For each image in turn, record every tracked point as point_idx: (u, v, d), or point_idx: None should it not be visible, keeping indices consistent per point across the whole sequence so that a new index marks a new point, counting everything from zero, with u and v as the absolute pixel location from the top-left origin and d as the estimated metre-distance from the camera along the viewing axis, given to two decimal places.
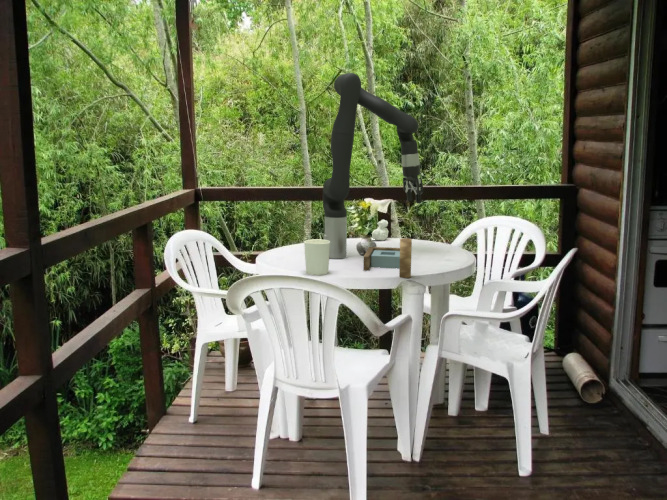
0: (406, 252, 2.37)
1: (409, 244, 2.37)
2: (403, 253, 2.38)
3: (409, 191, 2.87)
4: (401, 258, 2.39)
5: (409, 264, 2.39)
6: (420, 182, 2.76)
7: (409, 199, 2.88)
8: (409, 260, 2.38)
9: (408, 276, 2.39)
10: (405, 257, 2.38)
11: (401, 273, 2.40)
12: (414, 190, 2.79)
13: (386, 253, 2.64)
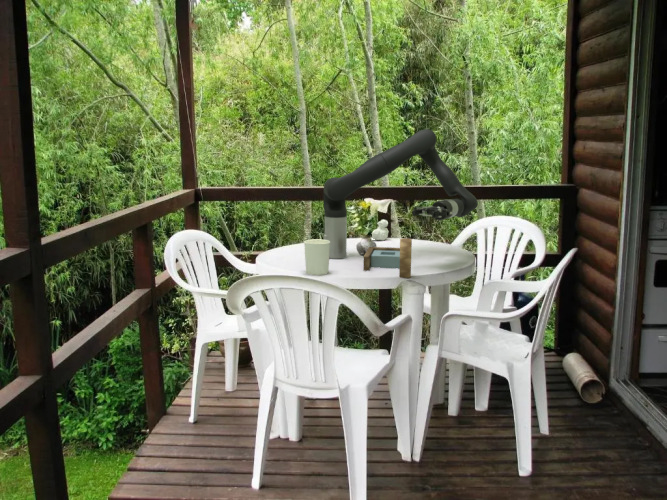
0: (406, 252, 2.37)
1: (409, 244, 2.37)
2: (403, 253, 2.38)
3: (419, 212, 2.51)
4: (401, 258, 2.39)
5: (409, 264, 2.39)
6: (451, 213, 2.48)
7: (415, 211, 2.49)
8: (409, 260, 2.38)
9: (408, 276, 2.39)
10: (404, 257, 2.38)
11: (401, 273, 2.40)
12: (438, 210, 2.47)
13: (386, 253, 2.64)
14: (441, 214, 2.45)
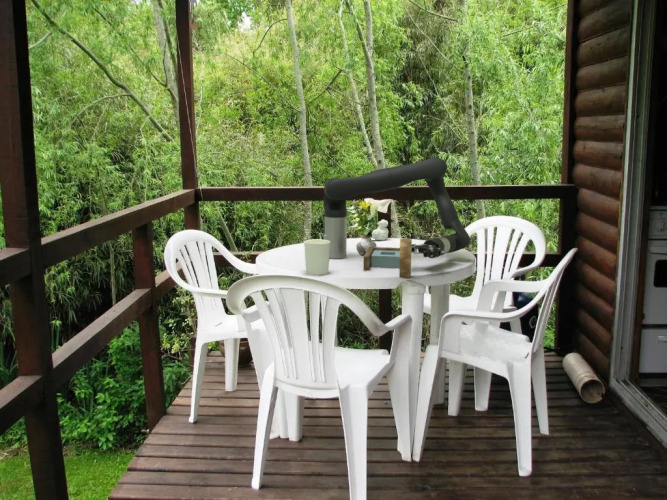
0: (406, 252, 2.37)
1: (409, 244, 2.37)
2: (403, 253, 2.38)
3: (411, 250, 2.50)
4: (401, 258, 2.39)
5: (409, 264, 2.39)
6: (442, 252, 2.47)
7: None
8: (409, 260, 2.38)
9: (408, 276, 2.39)
10: (404, 257, 2.38)
11: (401, 273, 2.40)
12: (430, 249, 2.46)
13: (386, 253, 2.64)
14: (433, 253, 2.44)
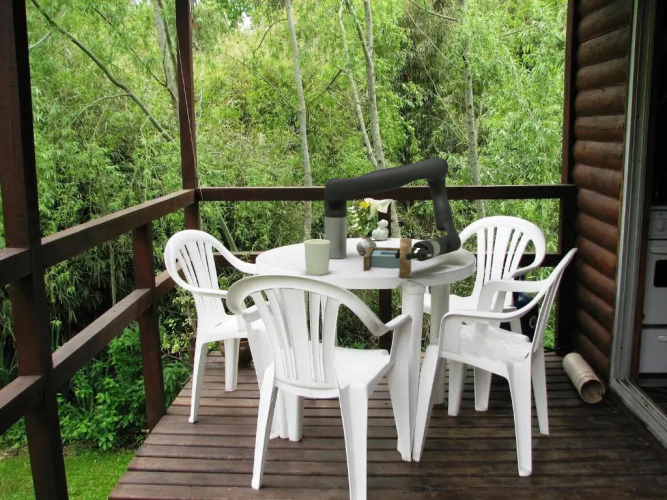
0: (406, 252, 2.37)
1: (409, 244, 2.37)
2: (404, 253, 2.38)
3: None
4: (401, 258, 2.39)
5: (409, 264, 2.39)
6: (428, 256, 2.40)
7: (397, 254, 2.39)
8: (409, 260, 2.38)
9: (408, 276, 2.39)
10: (405, 257, 2.38)
11: (401, 273, 2.40)
12: (415, 251, 2.40)
13: (386, 253, 2.64)
14: (416, 256, 2.38)
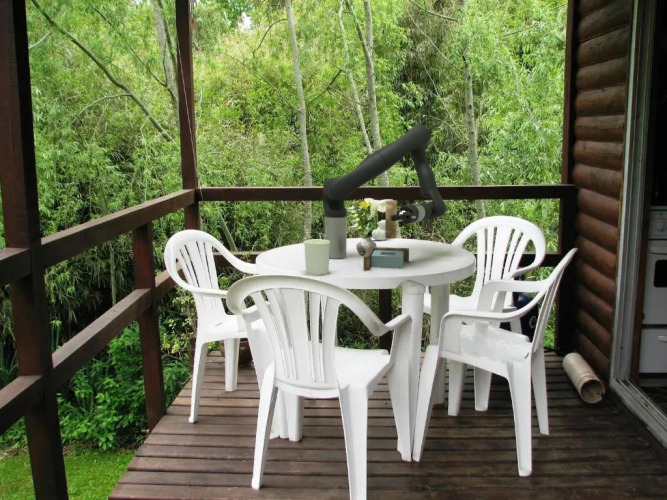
0: (391, 213, 2.51)
1: (394, 206, 2.51)
2: (389, 214, 2.52)
3: None
4: (387, 219, 2.53)
5: (394, 225, 2.53)
6: (413, 218, 2.54)
7: (383, 216, 2.53)
8: (394, 221, 2.52)
9: (393, 237, 2.53)
10: (390, 219, 2.52)
11: (387, 234, 2.53)
12: (400, 213, 2.54)
13: (386, 253, 2.64)
14: (400, 218, 2.52)
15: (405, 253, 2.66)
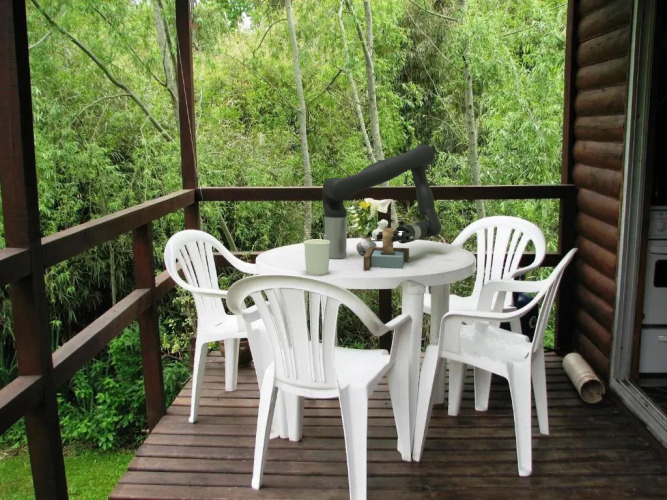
0: (388, 240, 2.58)
1: (391, 233, 2.58)
2: (386, 241, 2.58)
3: None
4: (384, 246, 2.59)
5: (391, 251, 2.59)
6: (411, 238, 2.61)
7: (379, 236, 2.61)
8: (391, 248, 2.59)
9: None
10: (387, 245, 2.58)
11: None
12: (399, 234, 2.60)
13: None
14: (400, 238, 2.58)
15: (405, 253, 2.66)
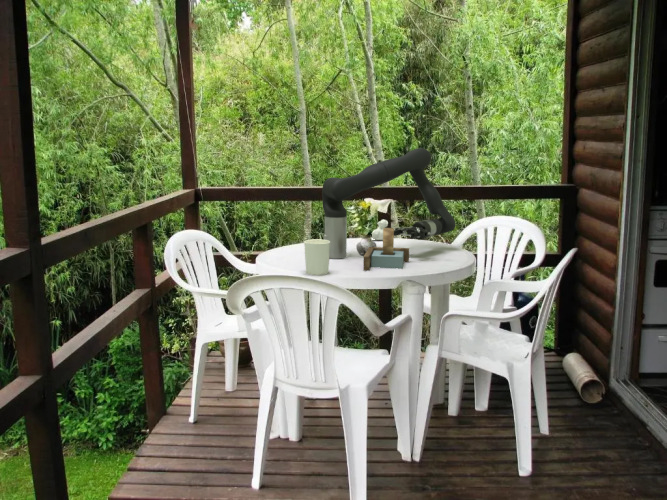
0: (388, 240, 2.58)
1: (391, 233, 2.58)
2: (386, 241, 2.58)
3: (400, 232, 2.74)
4: (384, 246, 2.59)
5: (391, 251, 2.59)
6: (428, 234, 2.70)
7: (396, 232, 2.71)
8: (391, 248, 2.59)
9: None
10: (387, 245, 2.58)
11: None
12: (417, 230, 2.69)
13: None
14: (419, 234, 2.67)
15: (405, 253, 2.66)
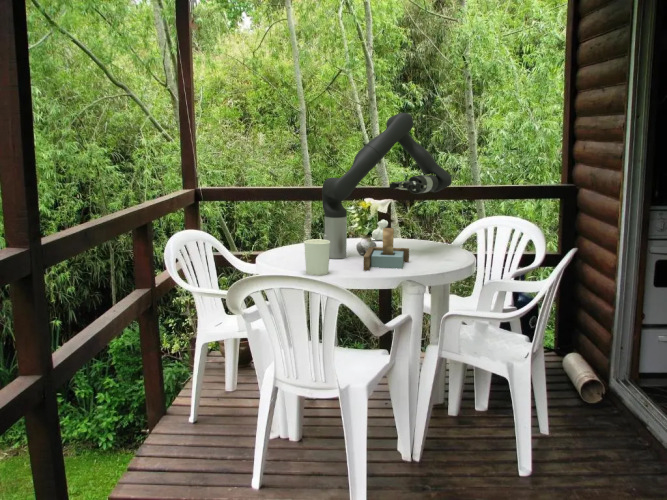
0: (388, 240, 2.58)
1: (391, 233, 2.58)
2: (386, 241, 2.58)
3: (396, 186, 2.74)
4: (384, 246, 2.59)
5: (391, 251, 2.59)
6: (425, 187, 2.70)
7: (392, 185, 2.71)
8: (391, 248, 2.59)
9: None
10: (387, 245, 2.58)
11: None
12: (413, 183, 2.69)
13: None
14: (415, 187, 2.67)
15: (405, 253, 2.66)
